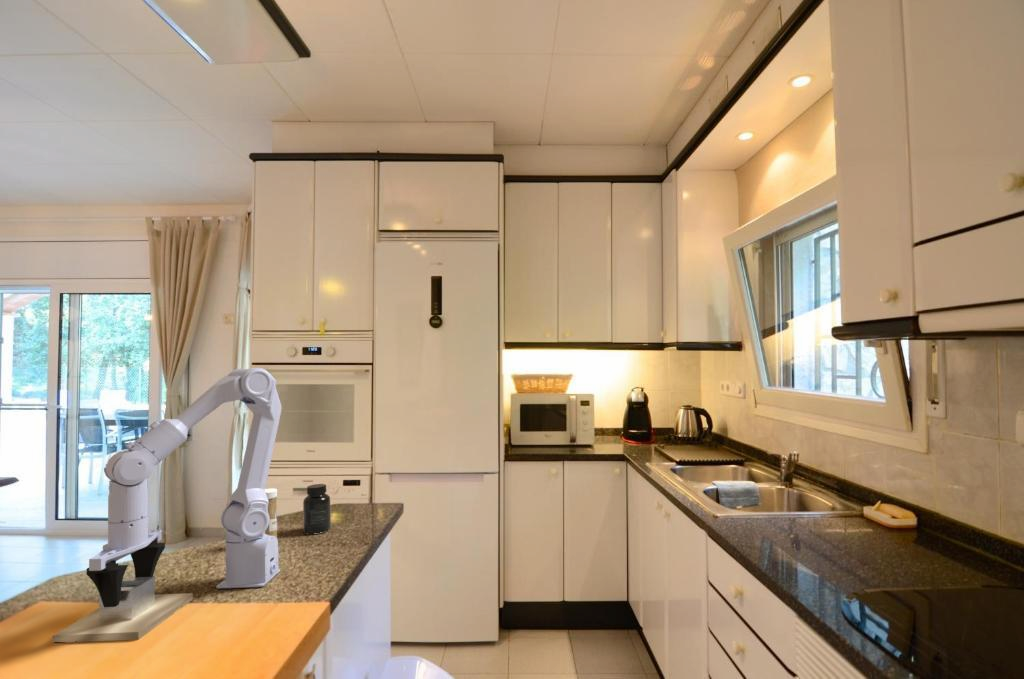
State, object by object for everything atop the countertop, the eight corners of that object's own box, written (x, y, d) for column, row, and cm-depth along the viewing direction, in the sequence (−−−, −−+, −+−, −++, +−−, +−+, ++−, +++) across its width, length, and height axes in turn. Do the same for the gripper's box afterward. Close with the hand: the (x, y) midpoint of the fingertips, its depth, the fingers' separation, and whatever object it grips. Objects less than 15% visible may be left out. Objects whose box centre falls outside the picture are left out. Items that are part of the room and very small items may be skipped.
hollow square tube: (154, 604, 92) (154, 576, 92) (131, 619, 86) (131, 590, 86) (124, 605, 92) (124, 577, 92) (99, 621, 86) (99, 591, 86)
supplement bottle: (305, 528, 137) (305, 484, 138) (332, 525, 139) (331, 481, 140) (301, 536, 131) (300, 489, 131) (329, 533, 132) (328, 487, 133)
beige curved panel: (192, 599, 96) (192, 571, 96) (138, 639, 82) (138, 606, 82) (119, 602, 96) (119, 574, 96) (52, 643, 82) (52, 610, 82)
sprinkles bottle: (279, 544, 125) (278, 490, 126) (258, 548, 123) (258, 493, 123) (276, 539, 129) (275, 486, 130) (256, 543, 126) (256, 489, 127)
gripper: (136, 507, 97) (136, 579, 96) (70, 532, 82) (69, 617, 82) (172, 506, 97) (172, 577, 96) (113, 531, 82) (113, 615, 82)
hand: (128, 595), depth 89 cm, fingers open, 7 cm apart
